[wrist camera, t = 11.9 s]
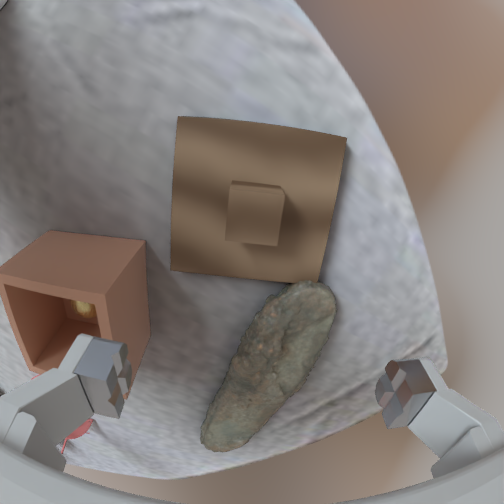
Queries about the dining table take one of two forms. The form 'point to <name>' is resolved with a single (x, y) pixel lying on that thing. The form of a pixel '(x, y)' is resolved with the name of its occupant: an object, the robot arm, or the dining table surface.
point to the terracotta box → (76, 295)
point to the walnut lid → (252, 199)
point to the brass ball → (83, 309)
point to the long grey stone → (270, 363)
